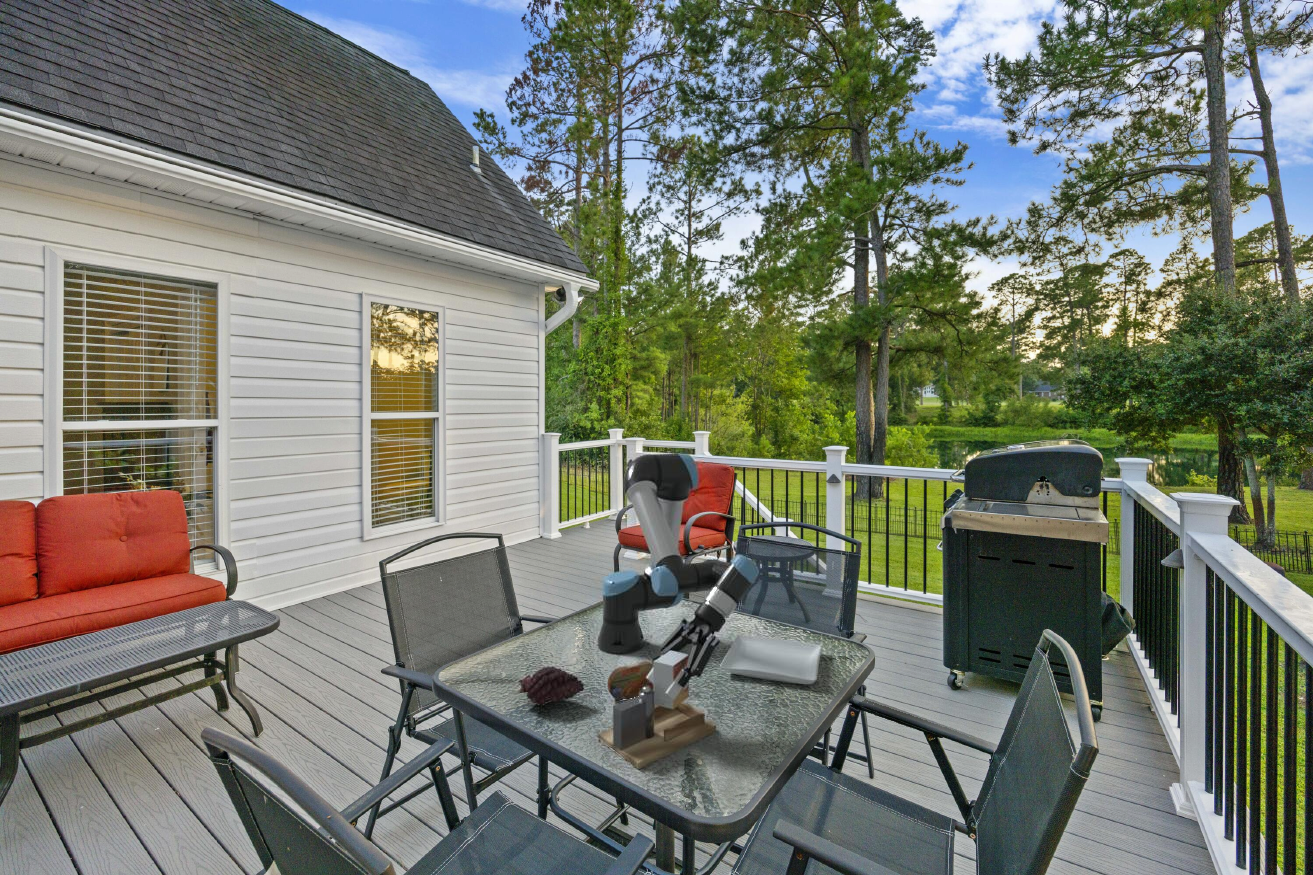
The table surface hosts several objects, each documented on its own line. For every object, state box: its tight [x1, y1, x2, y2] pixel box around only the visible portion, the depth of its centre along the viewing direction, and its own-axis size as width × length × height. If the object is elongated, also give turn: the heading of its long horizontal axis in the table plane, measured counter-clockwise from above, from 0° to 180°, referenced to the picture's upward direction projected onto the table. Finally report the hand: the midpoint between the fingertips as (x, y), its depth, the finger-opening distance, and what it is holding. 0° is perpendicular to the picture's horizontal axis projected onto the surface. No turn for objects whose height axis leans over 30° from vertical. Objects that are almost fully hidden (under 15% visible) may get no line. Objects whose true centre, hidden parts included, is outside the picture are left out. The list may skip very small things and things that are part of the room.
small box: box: [652, 650, 690, 709], centre depth 144 cm, size 8×6×10 cm
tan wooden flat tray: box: [597, 701, 717, 770], centre depth 142 cm, size 15×24×4 cm, turn 130°
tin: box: [606, 661, 653, 702], centre depth 162 cm, size 15×3×8 cm, turn 117°
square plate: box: [719, 634, 823, 685], centre depth 181 cm, size 27×27×4 cm
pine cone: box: [518, 665, 585, 706], centre depth 157 cm, size 18×10×10 cm, turn 85°
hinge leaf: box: [612, 686, 655, 751], centre depth 138 cm, size 4×10×11 cm, turn 130°
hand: (659, 688), depth 142 cm, fingers closed on small box, 8 cm apart
